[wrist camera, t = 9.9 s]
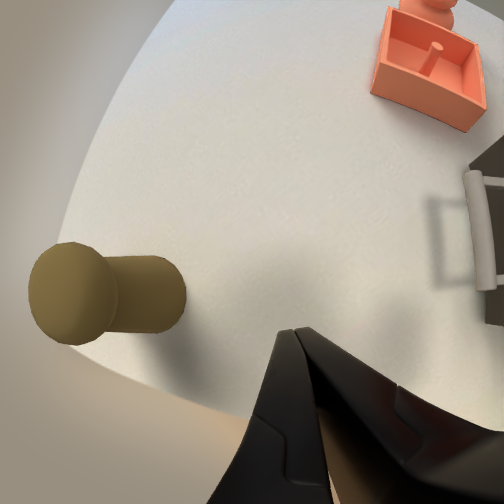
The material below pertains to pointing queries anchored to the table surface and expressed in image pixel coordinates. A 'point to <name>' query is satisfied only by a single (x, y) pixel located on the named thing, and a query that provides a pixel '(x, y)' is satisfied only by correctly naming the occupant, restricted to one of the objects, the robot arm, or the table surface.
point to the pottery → (430, 64)
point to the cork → (103, 294)
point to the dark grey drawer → (488, 227)
